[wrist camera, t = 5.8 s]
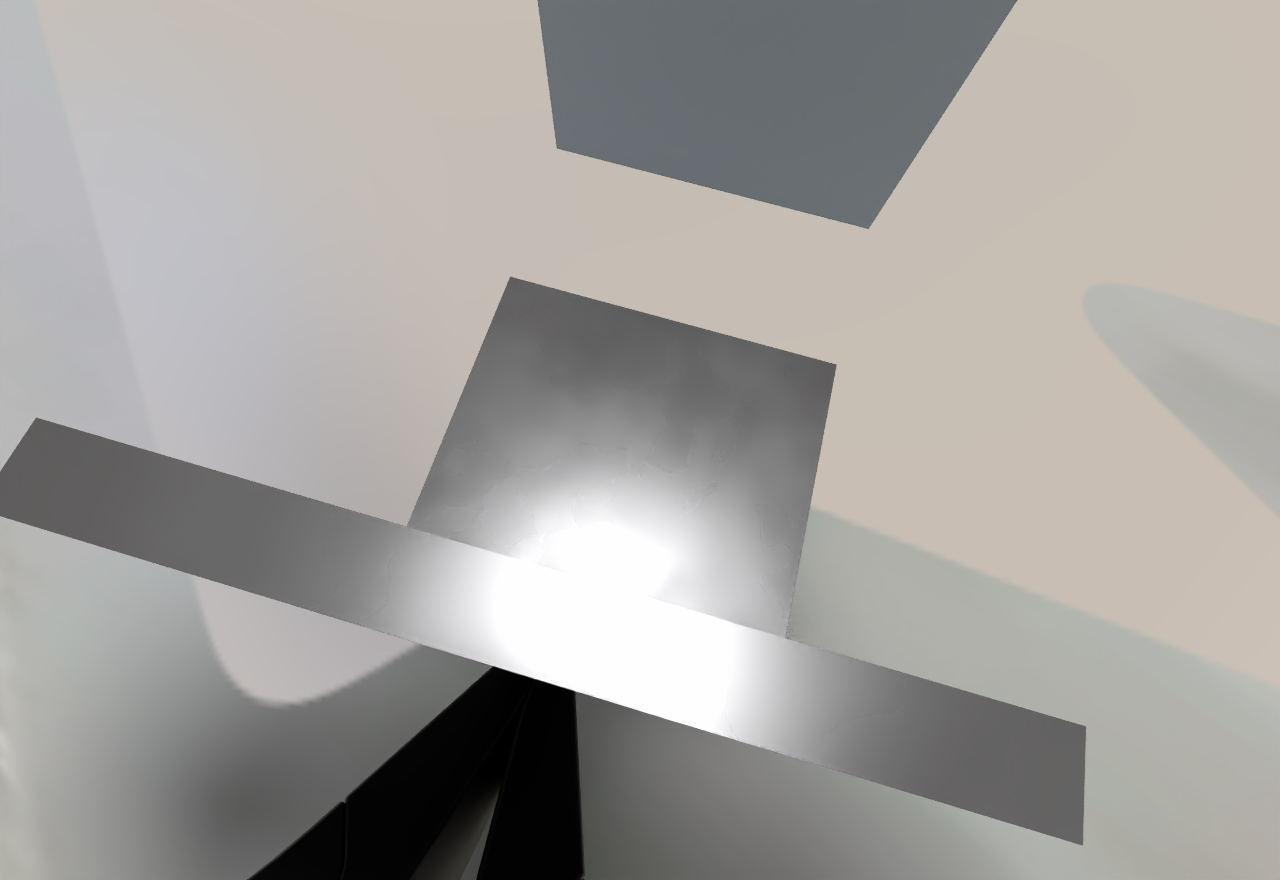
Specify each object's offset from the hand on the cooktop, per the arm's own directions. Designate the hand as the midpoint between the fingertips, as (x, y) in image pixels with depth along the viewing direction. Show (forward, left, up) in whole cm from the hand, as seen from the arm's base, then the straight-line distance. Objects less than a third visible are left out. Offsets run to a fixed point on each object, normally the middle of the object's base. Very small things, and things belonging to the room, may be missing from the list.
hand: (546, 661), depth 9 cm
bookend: (+5, -1, -7) cm, 9 cm away
